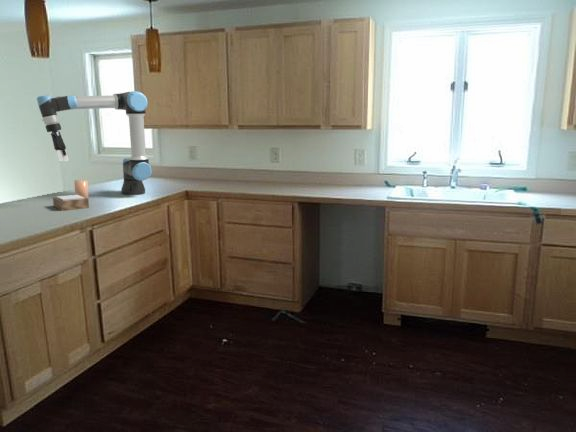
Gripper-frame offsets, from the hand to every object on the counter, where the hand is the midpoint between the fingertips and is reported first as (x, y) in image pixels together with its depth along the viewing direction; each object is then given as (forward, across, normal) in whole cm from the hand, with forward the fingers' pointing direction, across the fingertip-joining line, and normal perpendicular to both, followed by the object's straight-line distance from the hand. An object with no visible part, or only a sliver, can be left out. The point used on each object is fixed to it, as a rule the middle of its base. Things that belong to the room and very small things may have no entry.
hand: (64, 161), depth 261 cm
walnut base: (+24, +14, -6) cm, 28 cm away
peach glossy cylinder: (+25, -3, +3) cm, 25 cm away
